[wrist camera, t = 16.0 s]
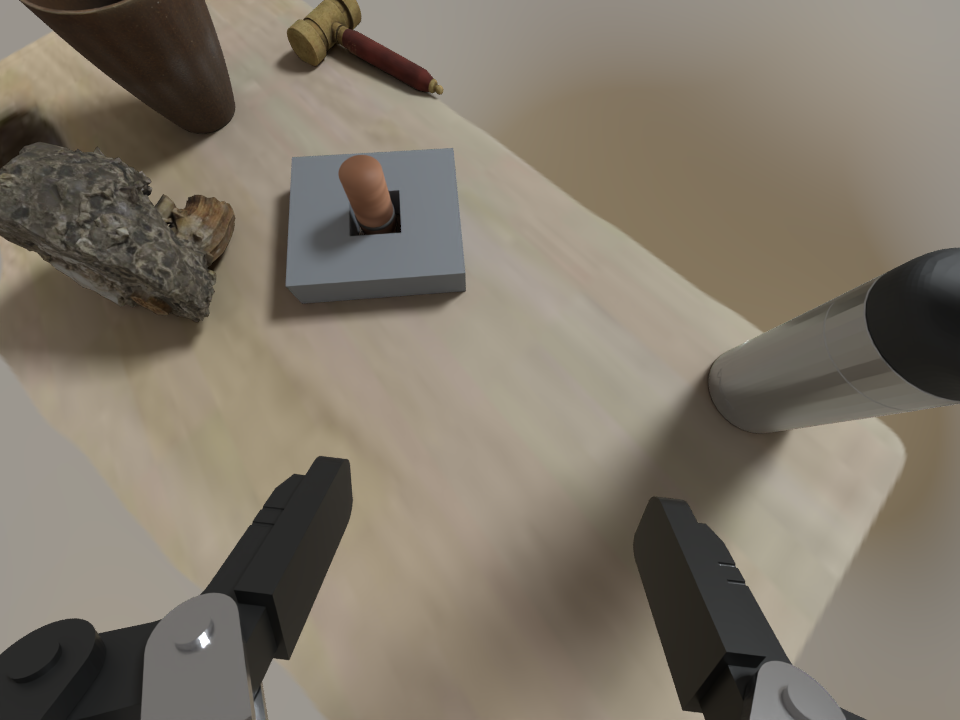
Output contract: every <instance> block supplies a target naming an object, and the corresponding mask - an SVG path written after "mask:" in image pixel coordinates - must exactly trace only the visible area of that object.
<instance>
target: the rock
mask: <svg viewBox="0 0 960 720" xmlns="http://www.w3.org/2000/svg"><path fill="white" fill-rule="evenodd" d="M19 154H20V155H18V156H17V157H15V158H13V159H12V160H11V161H10V162H8V163H7V164H6V165H5V166H3V167H2V168H1V169H0V236H2V237H3V238H5V239H6V240H8V241H10V242H12V243H14V244H16V245H19V246H21V247H23V248H26V249H27V250H29V251H34V252H37V253H38V254H39V255H40V256H41V257H42V258H43V260H45V261H47V262H49V263H51V264H52V265H53V267H55V268H56V269H57V270H59V271H61V272H62V273H64V274H65V275H67V276H69V277H70V278H72V279H73V280H74V281H76V282H77V283H78V284H79V285H81V286H82V287H83V288H87V289H91V290H93V291H96V292H97V293H98V294H100V295H101V296H103V297H105V298H107V299H109V300H111V301H113V302H114V303H116V304H118V305H119V306H121V307H122V306H123V305H125V304H128V305H130V306H132V307H134V306H136V305H138V304H139V305H141V306H143V307H145V308H147V309H149V310H151V311H153V312H154V313H156V314H157V315H168V314H169V313H171V312H172V313H173V314H175V315H176V316H182V317H186V318H189V319H192V320H193V321H195V322H198V321H199V320H200V319H201V320H202V321H203V318H204V317H208V316H209V314H210V313H209V309H208V308H209V305H210V303H209V302H211V299H212V295H213V293H214V292H215V291H214V289H213V287H212V286H213V285H214V284H215V283H216V273H215V272H213V271H211V270H209V269H207V267H208V266H211V264H212V262H213V261H215V260H216V259H217V258H218V257H219V256H220V255H221V254H222V253H223V252H224V250H225V248H226V246H227V244H228V242H229V240H230V238H231V236H232V233H233V231H234V226H235V223H234V221H235V215H234V212H233V209H232V208H231V206H230V204H228V203H226V202H225V201H222V202H220V201H218V200H217V199H216V198H215V197H212V198H206V197H205V196H202V195H194V196H192V197H188V201H187V202H186V207H185V209H178V208H176V206H175V204H174V202H173V201H172V200H171V199H170V198H169V197H168V196H166V195H164V194H163V195H162V197H161V198H160V200H159V201H158V203H157V204H156V205H155V207H154V205H153V204H152V202H151V201H150V200H149V198H148V196H149V195H151V191H152V188H151V187H150V186H148V185H149V184H150V183H151V180H150V178H148V177H146V175H145V174H144V173H143V172H142V171H141V172H138V171H136V170H135V169H134V168H131V167H129V166H128V165H127V164H126V163H124V162H123V161H121V159H120V158H119V157H118V158H115V159H113V158H106V157H105V155H104V154H103V153H102V152H101V150H100V149H99V148H98V147H96V149H95V151H94V152H82V151H80V150H79V149H77V150H76V151H75V152H74V151H72V150H69V149H67V147H66V148H64V147H61V146H57V145H52V144H48V143H43V142H37V143H34V144H31V145H28V146H24V147H23V148H22V149H21V151H20V152H19ZM167 224H170V225H169V226H168V225H167Z"/></svg>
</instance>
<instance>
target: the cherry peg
mask: <svg viewBox="0 0 960 720" xmlns="http://www.w3.org/2000/svg"><path fill="white" fill-rule="evenodd" d="M338 175H339V179H340V181H341V184H342V186H343V188H344V191H345V193H346V195H347V197H348V200H349V202H350V204H351V207H352V209H353V211H354V214H355V218H356V220H357V222H358V224H359V225H360V227H361V230H362V231H363V233H364V234H365V235H375V234H390V233H397V232H396V229H395V228H396V224H397V220H396V216H395V210H394V206H393V204H392V202H391V199H390V195H389V191H388V188H387V184H386V181H385V177H384V174H383V170H382V167H381V165H380V163H379V162H378V161H377V160H376V159H375V158H373V157H371V156H368V155H356V156H352V157H350V158H348V159H347V160H345V161H344V162H343V163H342V165H341V166H340V168H339V173H338Z"/></svg>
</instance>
